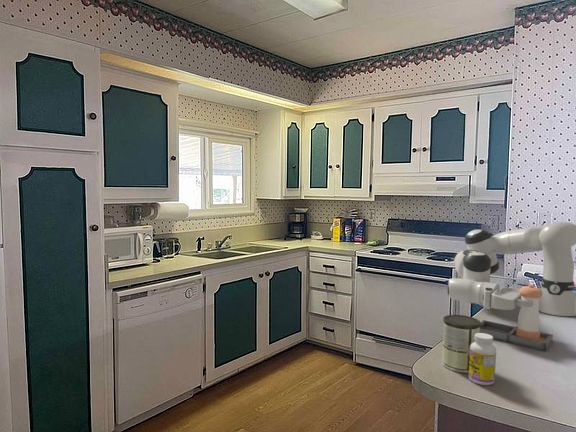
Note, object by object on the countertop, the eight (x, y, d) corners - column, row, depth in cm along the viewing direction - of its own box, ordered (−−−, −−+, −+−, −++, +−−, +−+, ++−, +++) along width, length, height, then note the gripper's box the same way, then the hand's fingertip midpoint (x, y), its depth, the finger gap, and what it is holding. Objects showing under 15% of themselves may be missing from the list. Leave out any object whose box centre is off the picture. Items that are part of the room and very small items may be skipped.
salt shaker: (543, 343, 146) (546, 287, 144) (519, 341, 147) (523, 286, 145) (535, 335, 153) (538, 283, 151) (513, 334, 154) (516, 281, 153)
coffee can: (442, 356, 136) (444, 312, 134) (478, 362, 131) (480, 317, 130) (439, 368, 126) (441, 322, 125) (477, 375, 122) (480, 327, 121)
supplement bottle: (463, 375, 122) (466, 331, 121) (486, 374, 123) (488, 331, 122) (476, 386, 115) (478, 340, 114) (499, 386, 116) (502, 339, 115)
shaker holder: (483, 326, 165) (483, 320, 165) (552, 341, 150) (552, 334, 150) (473, 334, 156) (473, 327, 156) (545, 351, 141) (546, 344, 141)
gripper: (499, 298, 165) (540, 305, 156) (482, 309, 149) (527, 318, 140) (500, 282, 164) (541, 288, 155) (483, 291, 149) (528, 299, 140)
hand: (534, 302), depth 148 cm, fingers open, 5 cm apart
